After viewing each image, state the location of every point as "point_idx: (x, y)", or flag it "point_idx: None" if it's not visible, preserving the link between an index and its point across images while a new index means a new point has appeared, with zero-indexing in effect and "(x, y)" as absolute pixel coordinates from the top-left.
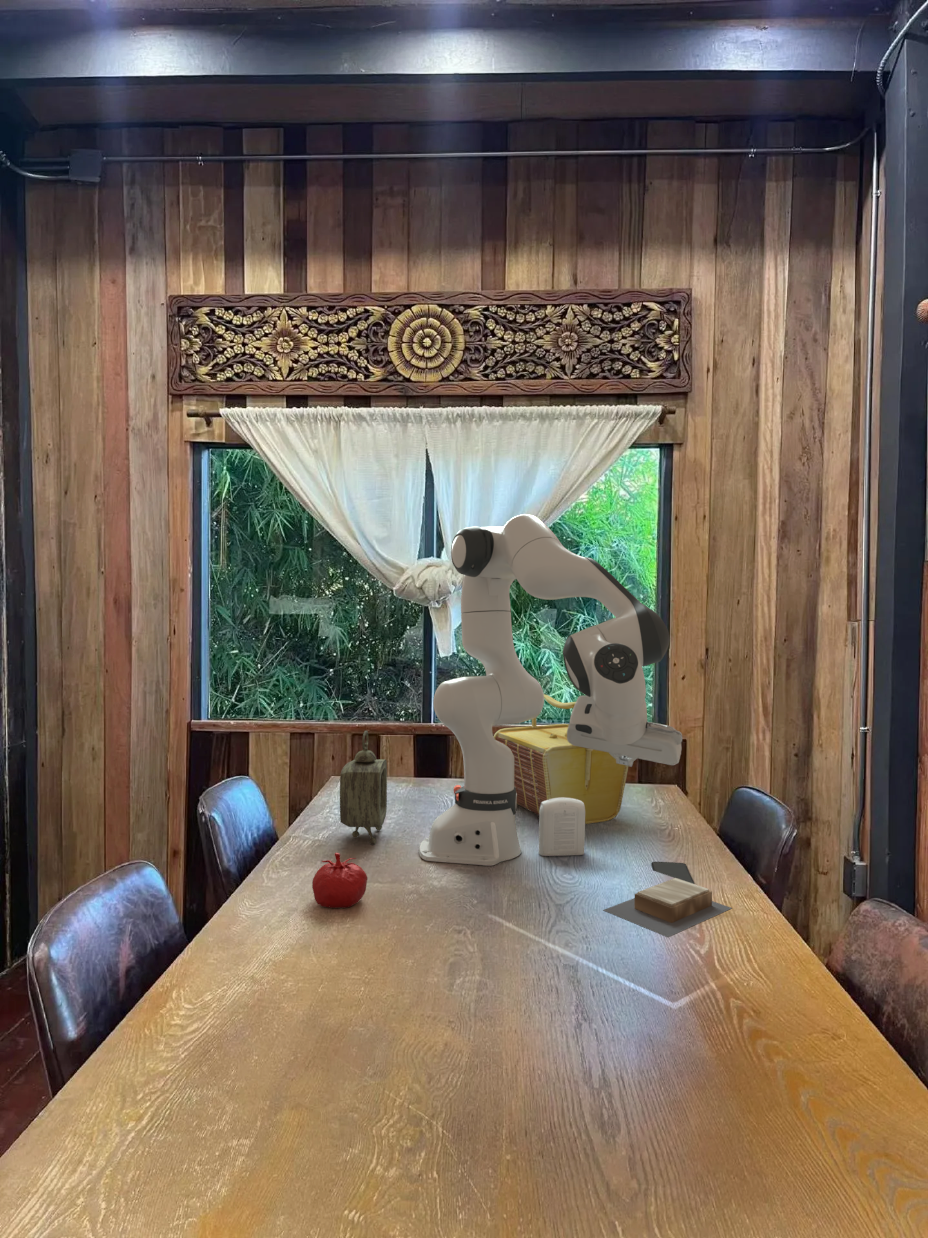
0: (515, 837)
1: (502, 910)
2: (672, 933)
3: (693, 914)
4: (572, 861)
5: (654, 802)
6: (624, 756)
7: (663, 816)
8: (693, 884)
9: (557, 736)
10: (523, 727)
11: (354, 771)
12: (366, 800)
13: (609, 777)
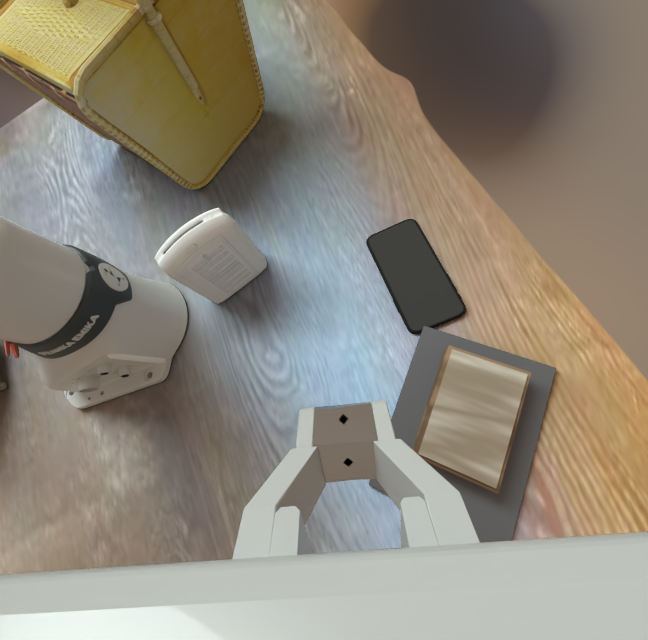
0: (163, 312)
1: (230, 545)
2: (508, 533)
3: None
4: (260, 297)
5: (292, 20)
6: (345, 456)
7: (320, 60)
8: (493, 365)
9: None
10: None
11: None
12: None
13: (224, 51)
